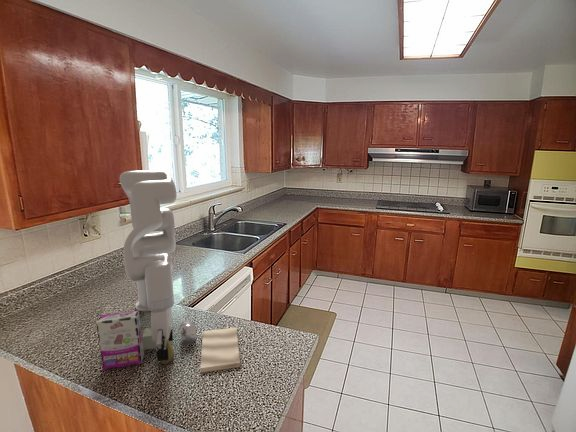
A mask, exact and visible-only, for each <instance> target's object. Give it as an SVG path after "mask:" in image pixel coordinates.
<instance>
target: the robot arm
mask: <svg viewBox="0 0 576 432" xmlns="http://www.w3.org/2000/svg"><path fill="white" fill-rule="evenodd" d="M119 184H120V186H121V189H122V190H123V191H124V193H125V195H126V196H127V198H128V201H129V208H130V216H131V217H130V218H131V224H132V228H133V229H132V230H131V231H130V233H129V234H128V235H127V237H126V239H125V240H124V244H123V252H122V253H123V262H124V263H123V264H124V271H125V276H126V278H127V279H128V280H129V281H131V282H136V289H137V297H138V301H136V303H135V310H136V311H137V310H139V312H143V313H144V312H150V328H151V336H152V342H155V341H156V339H157V341H156V348H155V352H156V361H157V362H159V361H164V360H168V358H169V357H168V347H167V340H168V339H169V342H173V340H174V337H173V329H172V327H173V312H172V311H173V310H172V307H174V305H175V298H174V297H175V296H174V295H175V294H174V285H173V270H174V269H175V261H174V257H173V256H172V255H171V254H172V253H174V252H175V250H176V247H177V246H176V244H177V243H176V242H177V241H176V226H175V217H174V214H173V211H172V210H171V209H170V208H168V207H161V205H165V204H166V205H167V204H173V203H175V202H176V201H177V188H176V185H175V182H174V180H173V178H172V176H171V173H170V172H169V171H168V170H164V169H154V170H153V169H149V170H146V169H145V170H143V169H142V170H139V169H138V170H128V171H124V172H121V173H120V175H119ZM163 336H164V337H165V338H163V339H162V337H163ZM162 341H164V345H163V344H162Z"/></svg>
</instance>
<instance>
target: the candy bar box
mask: <svg viewBox="0 0 576 432" xmlns="http://www.w3.org/2000/svg"><path fill="white" fill-rule="evenodd" d="M96 330H97V335H98V336H97V337H98V342H99V343H98V344H99V350H100V356H101V363H102V364H101V365H102V369H103V371H107V370H114V369H119V368H124V367H131V366H136V365H142V363H143V359H144V356H145V350H144V349H143V341H142V336H143V334H142V326H141V319H140V311H139V310H137V309H136V310H131V311H123V312H114V313H107V314H101V315H100V316H99V318H98V319H97V321H96Z"/></svg>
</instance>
